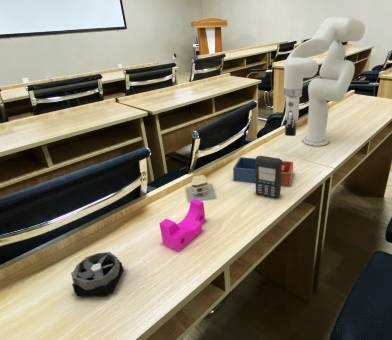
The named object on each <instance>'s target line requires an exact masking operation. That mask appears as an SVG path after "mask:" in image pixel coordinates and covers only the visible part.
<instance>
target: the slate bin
mask: <svg viewBox="0 0 392 340" xmlns="http://www.w3.org/2000/svg"><path fill="white" fill-rule="evenodd" d="M255 159H256V157H242V156H239V158H238V160H237V161H236V162H235V164H234V166H233V168H232V173H233V174H232V175H233V176H232V177H233V178H232V179H233V181H235V182H242V183H243V182H244V183H254V184H255Z"/></svg>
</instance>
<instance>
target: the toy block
mask: <svg viewBox="0 0 392 340" xmlns="http://www.w3.org/2000/svg"><path fill="white" fill-rule="evenodd" d="M205 222H206V213H205V203H204V201H203V200H197V199H193V200H192V201H190V202H189V207H188V210H187V213H186V215H185V216H184V217H183V219H182V220H181V221H179V222H178V223H176V221H174V220H171V219H169V218H164V219H163V220H161V221H160V222H159V223H158V224H159V230H160V233H161V234H160V235H161V240H162V244H163V245H164V246H167V247H169V248H171V249H173V250H175V251H177V252H180V251H181V250H182V249H183V248H185V246H187V245H188V244H189V243H191V241H193V240H194V239H196V238H197V236H199V235H200V234H201V233H202V232H203V228H202V227H203V226H202V225H203V224H204V223H205Z"/></svg>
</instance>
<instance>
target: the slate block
mask: <svg viewBox="0 0 392 340" xmlns="http://www.w3.org/2000/svg"><path fill="white" fill-rule="evenodd" d="M297 124H298V123H297V122H295V123H294V136H293V137H296V134H297V128H298V127H297V126H298V125H297ZM284 127H285V128H284V136H287V135H286V129H287V122H286V123H285V126H284Z"/></svg>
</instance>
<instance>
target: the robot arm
mask: <svg viewBox="0 0 392 340" xmlns="http://www.w3.org/2000/svg"><path fill="white" fill-rule="evenodd" d="M365 32H366V25H365V24H364V22H363V21H362V20H359V19H357V18H354V17H349V16H329V17H327V18H326V19H324V20H323V22H322V23H321V24H320V26H319V27H318V29H317V30H316V32H315V33H314V34H313V36H312V37H311V38H310V39H308V40H305V41H304V42H302V43H301V44H299V45H297V46H296V47H294V48H293V49H292V51H291V52H290V53H289V55H288V56H287V58H286V59H285V63H284V66H283V68H284V69H283V70H284V71H283V72H284V74H283V75H284V76H283V77H284V78H283V97H284V98H285V121H286V123H287V129H286V135H285V136H288V137H295V136H294V123H296V122H297V121H298V119H299V115H300V98H301V97H302V96H303V83H304V82H303V81H304V79H309V78H313V77H314V76H316V74H317V73H318V71H319V76H320V78H319V77H318V78H313V79H312V80H310V82H309V84H308V87H307V92H308V93H307V94H308V112H307V124H306V136H303V138H302V141H303V143H304V144H306V145H309V146H315V147H321V146H322V147H323V146H326V145H327V144H328V143H329V138H327V137H326V135H327V127H328V118H329V104H328V102H332V103H340V102H342V101H343V99H344V98H345V97H346V96H345V95H346V94H347V92H348V90H349V87H350V86H351V83H352V80H353V79H354V76H355V72H356V71H355V70H356V69H355V63H354V62H353V61H351V60H347V59H345V58H346V55H347V52H346V49H345V46H344V45H343V44H342V41H343V42H359V41H361V40H362V39H363V37H364V35H365ZM326 52H327V53H326ZM325 53H326V55H325V57H324V60H323V62H322V64H321V66H320V67H319V63H318V61H317V60H316V59H314V58H310V57H316V56H319V55H322V54H325Z"/></svg>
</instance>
